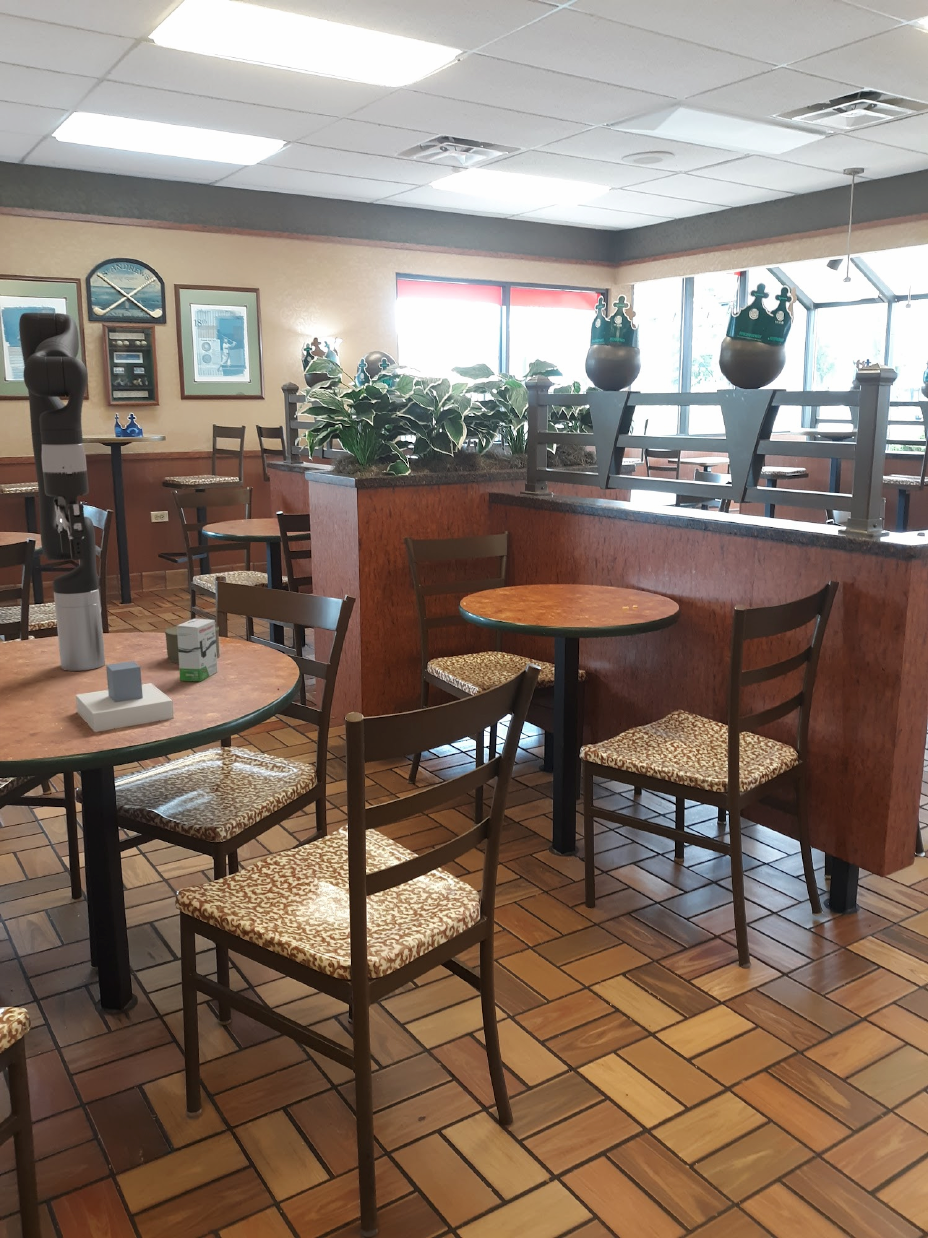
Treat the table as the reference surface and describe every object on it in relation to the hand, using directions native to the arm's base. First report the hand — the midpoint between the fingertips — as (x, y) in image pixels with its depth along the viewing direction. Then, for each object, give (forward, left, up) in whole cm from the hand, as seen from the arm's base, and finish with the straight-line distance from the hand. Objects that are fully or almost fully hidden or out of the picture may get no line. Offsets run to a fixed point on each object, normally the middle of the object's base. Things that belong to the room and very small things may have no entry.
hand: (73, 556), depth 181 cm
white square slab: (+11, +4, -30) cm, 32 cm away
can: (-24, +28, -29) cm, 48 cm away
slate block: (+11, +5, -26) cm, 28 cm away
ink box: (-8, +24, -29) cm, 39 cm away
